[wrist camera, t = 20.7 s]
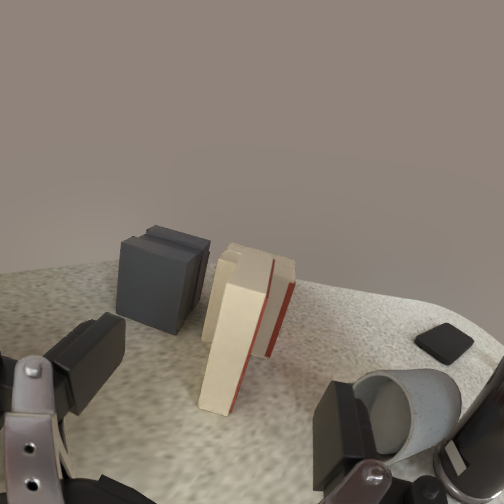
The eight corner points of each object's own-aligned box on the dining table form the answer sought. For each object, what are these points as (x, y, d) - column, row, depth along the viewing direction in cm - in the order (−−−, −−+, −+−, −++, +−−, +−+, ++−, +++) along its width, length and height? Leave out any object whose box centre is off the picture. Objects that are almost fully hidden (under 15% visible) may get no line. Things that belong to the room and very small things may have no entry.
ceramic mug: (434, 456, 18) (485, 393, 16) (370, 486, 16) (429, 418, 13) (378, 388, 28) (411, 328, 26) (315, 397, 25) (347, 328, 23)
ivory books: (274, 322, 37) (296, 254, 34) (268, 360, 29) (296, 280, 26) (218, 306, 37) (234, 237, 34) (200, 340, 29) (218, 258, 27)
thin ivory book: (244, 359, 28) (276, 255, 25) (229, 417, 21) (269, 295, 17) (219, 352, 28) (246, 246, 25) (197, 407, 21) (226, 282, 18)
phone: (413, 336, 39) (446, 321, 47) (411, 341, 39) (444, 325, 48) (450, 362, 33) (475, 340, 41) (447, 367, 34) (473, 344, 42)
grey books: (200, 298, 38) (212, 238, 35) (175, 335, 29) (187, 262, 27) (149, 282, 38) (158, 223, 36) (115, 313, 29) (120, 241, 27)
